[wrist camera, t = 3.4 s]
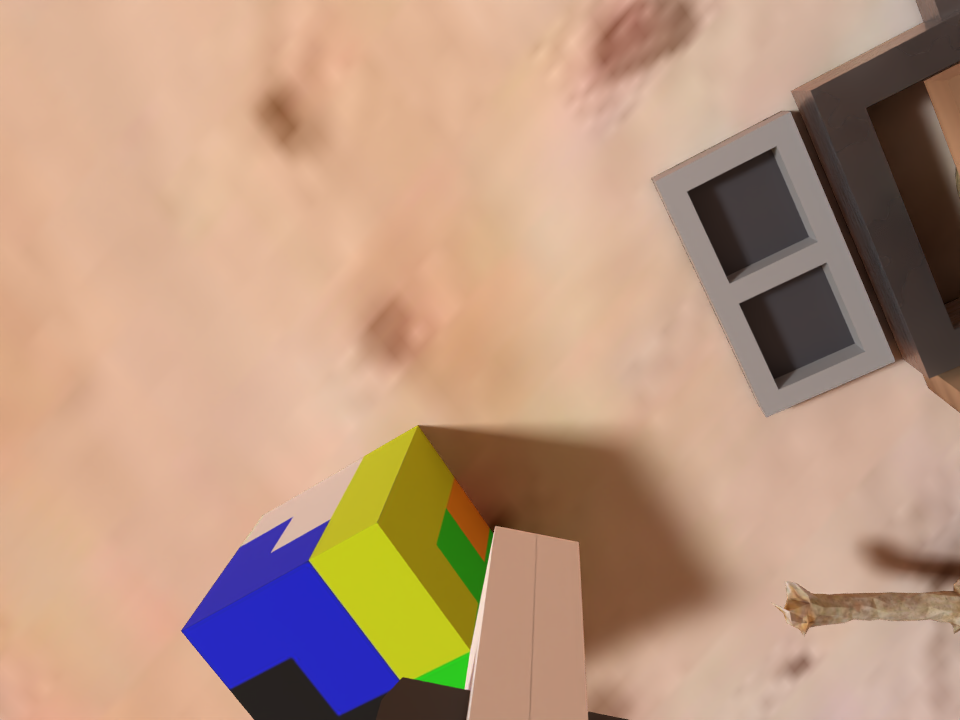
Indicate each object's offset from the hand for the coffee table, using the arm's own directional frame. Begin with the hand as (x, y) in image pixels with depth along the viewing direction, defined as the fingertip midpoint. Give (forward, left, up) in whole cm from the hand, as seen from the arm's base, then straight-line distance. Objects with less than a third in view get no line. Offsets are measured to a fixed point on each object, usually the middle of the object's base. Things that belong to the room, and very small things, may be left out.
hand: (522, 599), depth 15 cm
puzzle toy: (-9, +13, -25) cm, 30 cm away
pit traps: (-4, -10, -25) cm, 27 cm away
